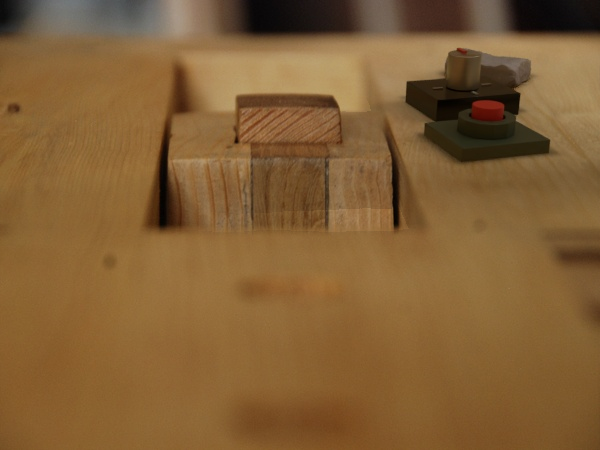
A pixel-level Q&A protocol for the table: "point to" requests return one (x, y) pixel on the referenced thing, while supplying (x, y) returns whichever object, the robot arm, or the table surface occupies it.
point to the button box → (485, 137)
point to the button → (487, 110)
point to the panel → (457, 97)
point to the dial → (463, 70)
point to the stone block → (503, 69)
